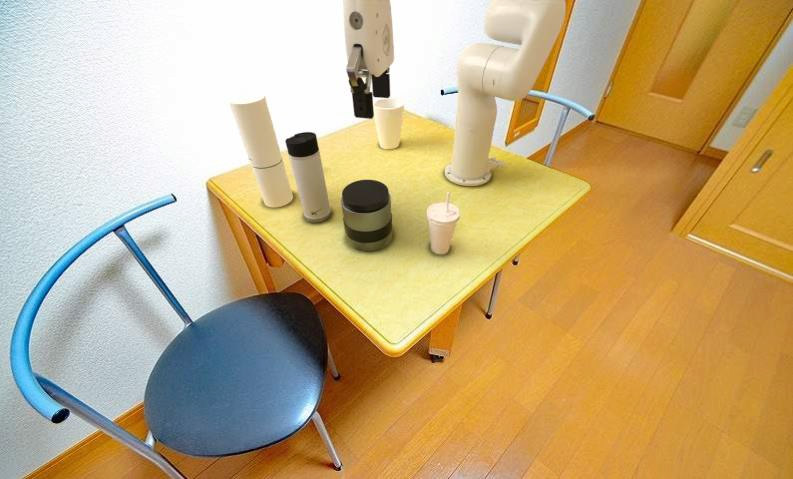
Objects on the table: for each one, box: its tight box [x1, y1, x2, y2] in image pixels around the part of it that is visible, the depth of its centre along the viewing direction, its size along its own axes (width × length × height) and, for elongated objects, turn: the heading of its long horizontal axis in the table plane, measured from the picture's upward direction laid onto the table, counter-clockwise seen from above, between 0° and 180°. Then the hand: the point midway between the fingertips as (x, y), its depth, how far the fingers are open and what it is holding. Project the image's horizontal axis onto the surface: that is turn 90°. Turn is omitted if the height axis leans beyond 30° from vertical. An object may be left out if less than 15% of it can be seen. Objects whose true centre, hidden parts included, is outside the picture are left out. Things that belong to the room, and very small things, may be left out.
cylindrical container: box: [227, 91, 294, 208], centre depth 74 cm, size 7×7×25 cm
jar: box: [340, 179, 393, 252], centre depth 68 cm, size 10×10×12 cm
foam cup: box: [373, 97, 405, 150], centre depth 100 cm, size 10×9×13 cm
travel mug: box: [284, 131, 332, 224], centre depth 71 cm, size 6×7×20 cm
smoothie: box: [426, 191, 461, 255], centre depth 64 cm, size 6×6×14 cm
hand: (373, 106), depth 56 cm, fingers open, 9 cm apart
